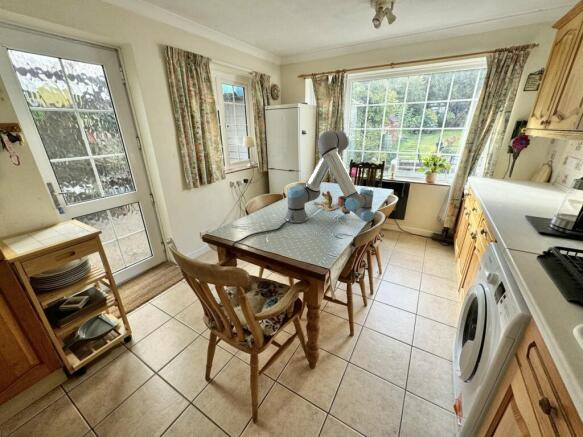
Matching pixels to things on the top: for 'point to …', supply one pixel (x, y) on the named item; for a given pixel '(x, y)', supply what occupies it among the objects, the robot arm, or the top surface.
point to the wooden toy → (326, 202)
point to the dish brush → (345, 210)
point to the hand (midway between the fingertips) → (343, 198)
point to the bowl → (340, 200)
